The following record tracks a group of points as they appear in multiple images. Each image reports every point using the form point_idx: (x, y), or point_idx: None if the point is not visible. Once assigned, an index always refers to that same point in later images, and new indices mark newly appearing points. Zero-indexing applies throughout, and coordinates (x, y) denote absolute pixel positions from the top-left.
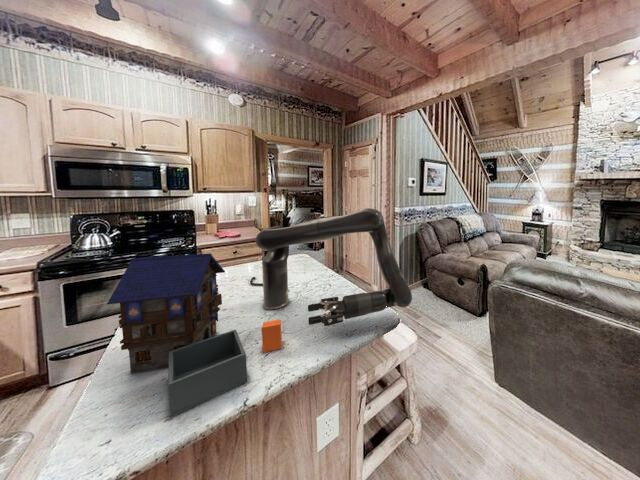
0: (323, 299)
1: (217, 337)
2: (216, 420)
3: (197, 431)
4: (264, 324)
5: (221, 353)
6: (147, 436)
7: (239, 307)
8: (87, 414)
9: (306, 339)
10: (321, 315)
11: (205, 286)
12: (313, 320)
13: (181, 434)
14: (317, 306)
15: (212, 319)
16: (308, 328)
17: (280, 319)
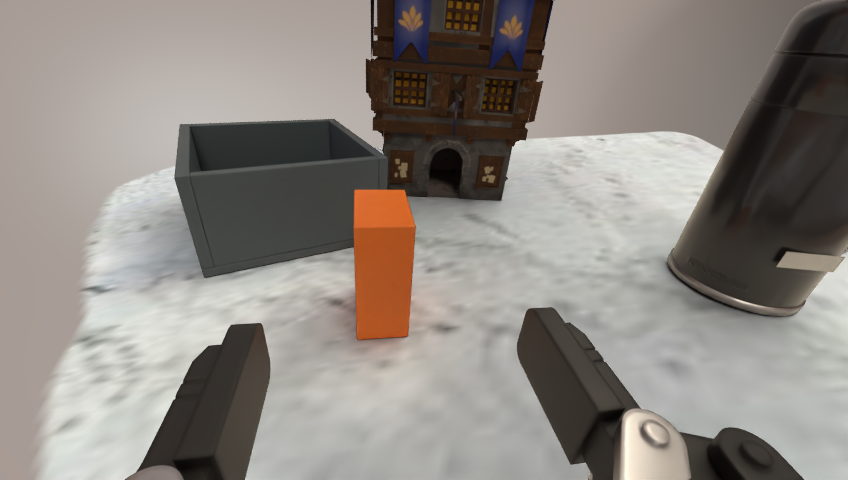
0: (761, 467)
1: (358, 145)
2: (90, 251)
3: (93, 233)
4: (383, 192)
5: None
6: (175, 192)
7: (645, 211)
8: None
9: (399, 461)
10: (172, 467)
11: (481, 10)
12: (191, 379)
13: (119, 218)
14: (574, 409)
15: (453, 127)
16: (536, 460)
17: (411, 225)
